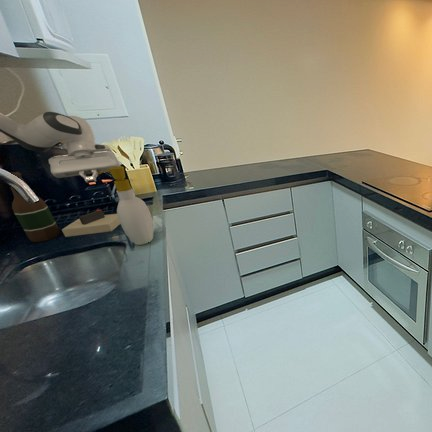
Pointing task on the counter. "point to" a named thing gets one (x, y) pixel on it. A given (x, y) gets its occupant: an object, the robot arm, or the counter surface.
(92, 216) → the dark brown bar
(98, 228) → the beige flat block
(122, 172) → the soap bottle
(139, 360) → the counter surface
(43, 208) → the beer bottle
